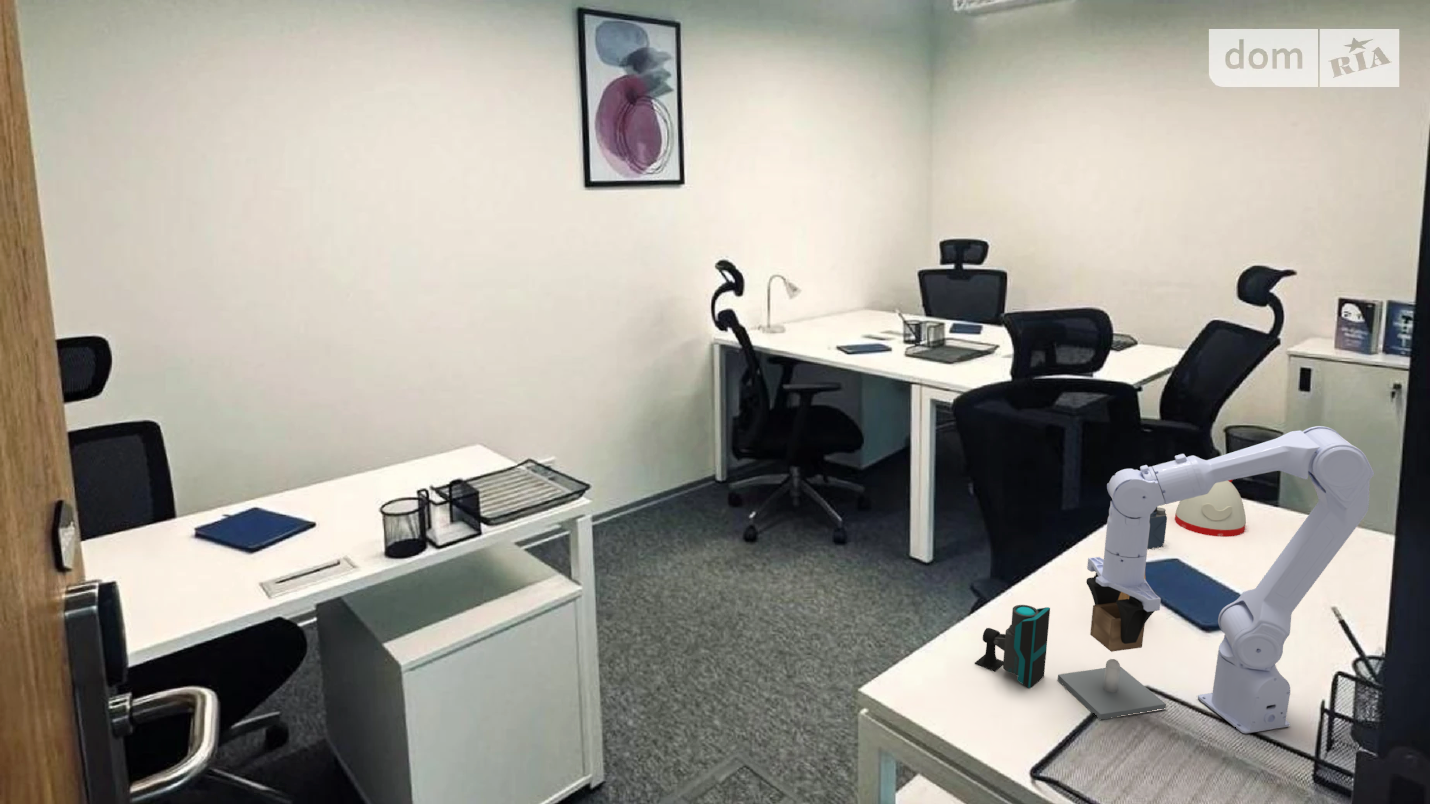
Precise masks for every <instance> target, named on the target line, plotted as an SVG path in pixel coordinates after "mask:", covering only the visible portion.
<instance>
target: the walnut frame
mask: <svg viewBox="0 0 1430 804" xmlns="http://www.w3.org/2000/svg"><path fill="white" fill-rule="evenodd" d="M1091 614H1092V615H1091V621H1090V622H1091V624H1090V634H1089V635H1090V636H1091V637H1092V638H1093V639H1094V640H1096V641H1098V643H1100V644H1101V645H1103V647H1105V648H1106V649H1107V650H1108V651H1110V652H1111V653H1113V652H1119V651H1127V650H1133V649H1141V648H1142V647H1143V642H1144V632H1145V625H1146V623H1145V624H1144V626H1143V628H1142V630H1141V632H1140V635H1139V637H1138V639H1137V641H1136V643H1129V644H1124V643H1123V642H1122V640H1121V618H1120V612H1119V609H1118V606H1117V604H1116V602H1115V603H1107V604H1099V605H1095V604H1093V605H1092V613H1091Z"/></svg>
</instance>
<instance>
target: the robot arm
mask: <svg viewBox="0 0 1430 804" xmlns="http://www.w3.org/2000/svg"><path fill="white" fill-rule="evenodd" d="M1139 469H1140V470H1138V469H1134V468H1124V469H1121V470H1119V471H1117V472H1116V473H1114V475H1112V476H1111V478H1110V480H1109V482H1108V483H1107V484H1106V489H1107V492H1108V495H1109V496H1110V497H1111V499H1112V500H1110V506H1109V509H1108V517H1107V520H1106V521H1107V522H1106V532H1105V540H1104V541H1105V542H1104V554H1103V558H1102V557H1100V556H1093V557H1088V558H1087V566H1086V567H1087V570H1088V571H1089V572H1091V573H1092V572H1095V574H1094V576H1093V577H1088V578H1087V579H1086V582H1085V583H1086V585H1087V586H1088V588H1089V590H1090V593H1091V596H1092V599H1093V602H1094V605H1099V604H1107V603H1115V602H1116V604H1117V606H1118V609H1119V612H1120V618H1121V640H1122V642H1123V643H1124V644H1129V643H1136V641H1137V639H1138V637H1139V635H1140V632H1141V630H1142V628H1143V626H1144V624H1145V625H1146V623H1147V621H1148V620H1149V618H1150V617H1151V616H1152V615H1153V614H1154V613H1155V612H1157V611H1160V609H1161V601H1162V598H1161V597H1160V596H1159V595H1157V594H1156V593H1155V592H1154V590H1153V589H1152V587H1151V586H1150V584H1149V583H1148V582H1147V579H1144V574H1145V575H1146V564H1147V555H1148V549H1147V547H1148V539H1149V530H1150V523H1149V521H1150V514H1151V513H1152V512H1153V511H1154V510H1155V509H1156V507H1157V508H1159V506H1164V505H1169V504H1172V503H1173V504H1174V503H1176V502H1180V501H1181V500H1185V499H1189V498H1193V497H1197V496H1201V495H1205V494H1208V492H1209V491H1210V490H1211V488H1212V487H1213V485H1214V484H1215V483H1218V482H1223V481H1228V480H1232V481H1233V480H1236V479H1237V480H1239V479H1243V478H1247V477H1252V476H1257V475H1262V474H1266V473H1273V472H1277V471H1278V472H1283V473H1285V474H1288V475H1290V476H1294V477H1296V478H1300V479H1303V480H1308V479H1309V477H1310V480H1311V483H1312V485H1313V488H1314V490H1315V492H1316V495H1317V499H1318V501H1317V503H1316V504H1315V506H1314V507H1313V508H1312V510H1311V511H1310V513H1309V514H1308V515H1307V516H1306V518H1305V520H1303V522H1302V524H1301V525H1300V526H1299V527H1298V529H1297V530H1296V532H1295V533H1294V535H1293V536H1292V537H1291V539H1290V540H1289V542H1288V543H1287V544H1286V546H1285V547H1284V549H1282V551H1281V553H1280V554H1279V555H1278V556H1277V558H1276V559H1275V561H1274V562H1273V564H1272V565H1271V566H1270V567H1269V569H1268V570H1267V572H1266V573H1265V575H1264V576H1263V577H1262V579H1261V580H1260V581H1259V583H1258V584H1257V585H1256V586H1255V588H1253V589H1252V588H1251V589H1248V590H1245V591H1243V592H1242V593H1241V594H1240V596H1239V597H1238V598H1237V599H1236V600H1234V601H1233V602H1231V603H1229V604H1227V605H1226V606H1224V607H1223V608H1222V609H1221V610H1220V612H1219V614H1218V619H1217V622H1218V627H1219V629H1220V630H1221V632H1222V633H1223V634H1224V635H1223V640H1222V641H1221V642H1220V643H1219V645H1218V651H1217V660H1216V664H1215V665H1216V666H1215V672H1214V673H1215V674H1214V680H1213V687H1212V692H1209V693H1202V694H1198V695H1197V699H1198V700H1199V701H1201V702H1202V703H1203V704H1205V705H1206V706H1207V707H1208V708H1209V709H1211V710H1212V711H1213V712H1215V713H1216V714H1218V715H1219V716H1220V717H1221V718H1222V719H1224V720H1225V721H1226V722H1228V723H1229V724H1230V725H1232V726H1233V727H1234V728H1235V727H1236V729H1237V730H1238V731H1239V732H1241V733H1242V734H1252V733H1257V732H1264V731H1269V730H1275V729H1281V728H1287V727H1290V726H1291V725H1290V724H1291V723H1290V722H1289V721H1288V720H1287V715H1288V709H1289V708H1288V707H1289V702H1290V695H1291V686H1290V683H1289V681H1288V680H1287V679H1286V678H1285V677H1284V676H1283V675H1282V674H1281V673H1280V671H1279V670H1278V668H1277V666H1276V664H1277V663H1278V662H1279V661H1280V660H1281V658H1282V655H1283V654H1284V644H1285V641H1286V640H1287V638H1289V636H1290V634H1291V626H1292V625H1291V624H1292V622H1291V621H1292V615H1293V612H1294V611H1295V609H1297V607H1298V606H1299V604H1300V603H1301V601H1302V600H1303V598H1304V597H1305V596H1306V595H1307V594H1308V592H1309V591H1310V590H1311V588H1312V587H1313V586H1314V585H1315V583H1316V581H1317V580H1318V579H1319V578H1320V576H1321V575H1322V574H1323V572H1324V571H1325V570H1326V568H1327V567H1328V566H1329V564H1330V563H1331V561H1332V560H1333V559H1334V557H1336V555H1337V553H1338V552H1339V551H1340V549H1342V547H1343V546H1344V544H1345V543H1346V542H1347V540H1348V539H1349V537H1350V536H1351V535H1352V534H1353V532H1355V530H1356V529H1357V527H1358V526H1359V524H1360V523H1361V522H1362V521H1363V519H1364V518H1365V517H1366V515H1367V513H1368V511H1369V507H1370V505H1369V504H1370V488H1371V487H1370V486H1371V485H1370V484H1371V479H1372V478H1373V477H1374V475H1375V472H1374V470H1373V468H1372V465H1371V464H1370V462H1369V459H1368V458H1367V456H1366V454H1365V453H1364V452H1363V450H1361V449H1360V448H1358V447H1356V446H1355V445H1353V444H1351V443H1350V442H1349V441H1347V439H1345V438H1343V436H1342V435H1341V434H1340V433H1339V432H1338V431H1337V430H1335V429H1333V428H1331V427H1328V426H1323V425H1316V426H1311V427H1308V428H1305V429H1304V430H1293V431H1289V432H1287V433H1284V434H1282V435H1281V436H1278V437H1277V438H1273V439H1270V440H1266V441H1264V442H1261V443H1258V444H1254V445H1251V446H1249V447H1245V448H1241V449H1238V450H1235V451H1233V452H1229V453H1226V454H1223V455H1219V456H1216V457H1213V458H1209V459H1203V458H1200V457H1199V456H1196V455H1189V456H1186V455H1185V453H1180V454H1178V455H1175V456H1174V460H1170V461H1167V462H1162V463H1158V464H1156V465H1152V466H1148V465H1147V464H1145V465H1141V466H1140V467H1139ZM1121 592H1123V593H1125V594H1128V595H1129V599H1123V600H1118V599H1119V596H1120V593H1121ZM1144 627H1145V626H1144Z"/></svg>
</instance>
